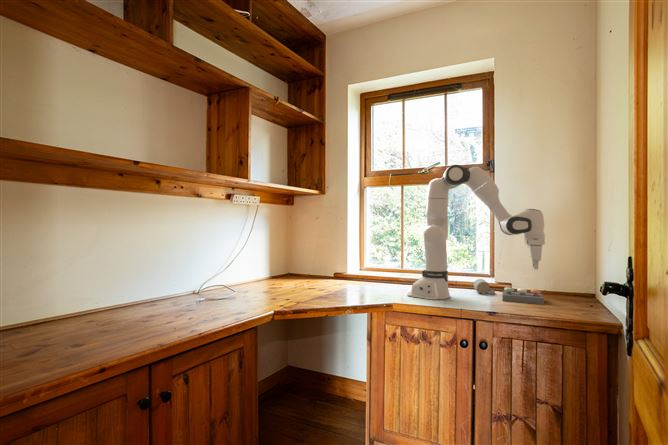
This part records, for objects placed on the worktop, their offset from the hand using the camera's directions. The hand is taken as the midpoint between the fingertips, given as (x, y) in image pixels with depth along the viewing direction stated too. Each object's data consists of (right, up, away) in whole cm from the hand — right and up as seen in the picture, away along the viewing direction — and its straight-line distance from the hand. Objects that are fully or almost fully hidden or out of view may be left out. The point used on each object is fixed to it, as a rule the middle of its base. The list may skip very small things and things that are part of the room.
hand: (535, 268), depth 172 cm
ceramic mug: (-16, -17, +22) cm, 32 cm away
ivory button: (-5, -15, +3) cm, 16 cm away
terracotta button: (0, -15, 0) cm, 15 cm away
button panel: (-5, -17, +3) cm, 18 cm away
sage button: (-11, -15, +6) cm, 19 cm away
